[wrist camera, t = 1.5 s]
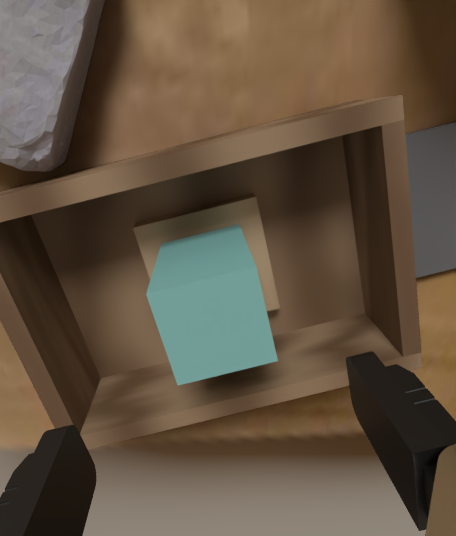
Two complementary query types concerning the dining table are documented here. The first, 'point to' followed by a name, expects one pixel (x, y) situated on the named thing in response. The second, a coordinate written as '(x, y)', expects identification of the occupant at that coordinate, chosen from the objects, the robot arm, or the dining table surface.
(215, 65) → the dining table surface
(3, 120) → the stone block
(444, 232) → the mat
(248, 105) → the dining table surface
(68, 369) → the crate
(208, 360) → the block
